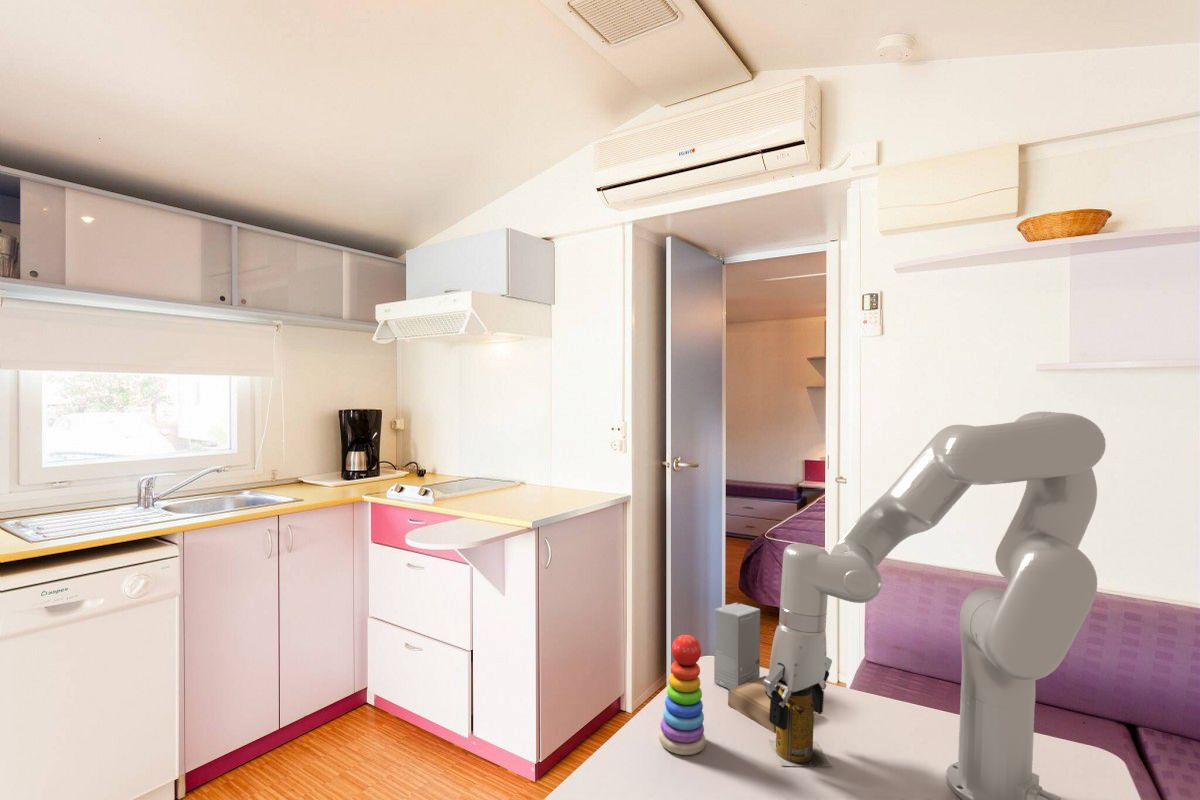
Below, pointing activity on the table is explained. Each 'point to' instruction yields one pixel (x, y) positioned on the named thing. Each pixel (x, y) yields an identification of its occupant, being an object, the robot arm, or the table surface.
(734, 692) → the base
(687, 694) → the stacking toy
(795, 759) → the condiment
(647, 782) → the table surface
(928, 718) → the table surface
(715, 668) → the skincare box
